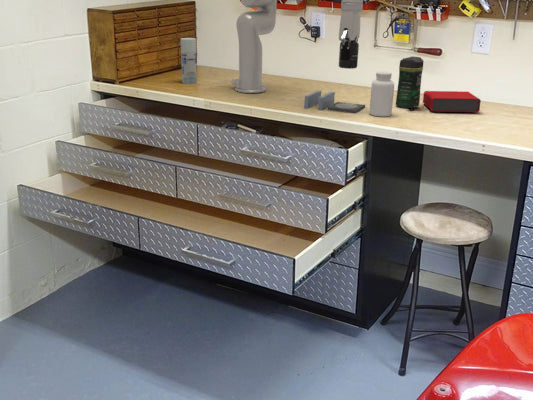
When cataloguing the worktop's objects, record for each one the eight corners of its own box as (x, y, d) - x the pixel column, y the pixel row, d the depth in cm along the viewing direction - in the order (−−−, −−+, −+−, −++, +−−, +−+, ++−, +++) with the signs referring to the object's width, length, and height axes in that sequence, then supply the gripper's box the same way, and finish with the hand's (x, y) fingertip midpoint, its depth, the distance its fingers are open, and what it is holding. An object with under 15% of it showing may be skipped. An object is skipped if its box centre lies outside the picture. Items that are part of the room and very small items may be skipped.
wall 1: (304, 107, 237) (304, 95, 235) (317, 101, 248) (317, 90, 246) (307, 108, 236) (308, 96, 235) (320, 102, 247) (321, 90, 246)
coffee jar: (412, 109, 236) (417, 59, 230) (392, 107, 241) (396, 57, 234) (422, 105, 244) (427, 56, 237) (402, 102, 248) (407, 54, 242)
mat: (327, 109, 234) (327, 106, 234) (337, 104, 243) (337, 101, 243) (355, 113, 230) (355, 110, 229) (365, 107, 239) (365, 104, 238)
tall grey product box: (180, 84, 278) (178, 38, 271) (194, 83, 281) (192, 37, 274) (184, 87, 273) (183, 39, 266) (199, 86, 276) (197, 39, 269)
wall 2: (317, 109, 235) (318, 97, 233) (330, 103, 246) (331, 91, 244) (321, 109, 234) (322, 97, 232) (334, 103, 245) (334, 92, 243)
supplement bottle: (356, 69, 228) (358, 34, 223) (337, 68, 229) (339, 34, 225) (358, 66, 234) (360, 33, 230) (339, 65, 235) (341, 32, 231)
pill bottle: (386, 118, 223) (390, 75, 218) (365, 115, 227) (368, 72, 222) (395, 113, 229) (398, 72, 224) (374, 111, 233) (377, 70, 228)
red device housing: (468, 104, 249) (469, 91, 247) (479, 112, 236) (481, 98, 234) (422, 103, 249) (423, 90, 247) (431, 111, 236) (432, 98, 234)
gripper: (349, 6, 233) (347, 55, 239) (333, 8, 218) (330, 61, 224) (369, 6, 230) (366, 56, 236) (353, 9, 215) (350, 62, 221)
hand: (348, 58), depth 230 cm, fingers closed on supplement bottle, 6 cm apart
